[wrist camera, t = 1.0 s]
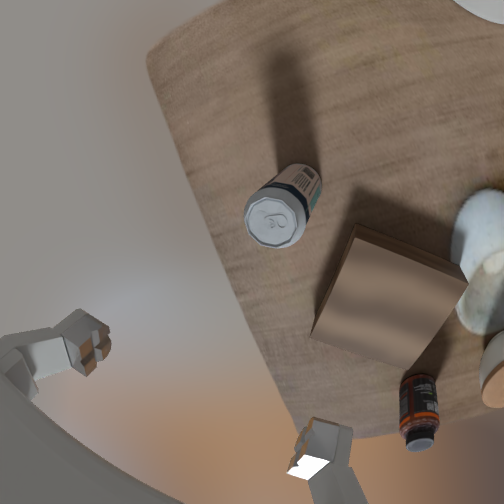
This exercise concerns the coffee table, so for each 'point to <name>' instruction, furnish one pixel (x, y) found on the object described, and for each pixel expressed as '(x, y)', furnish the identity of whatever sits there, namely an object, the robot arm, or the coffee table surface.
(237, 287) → the coffee table surface
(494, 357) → the lidded jar
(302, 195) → the beer can
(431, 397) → the supplement bottle
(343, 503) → the robot arm
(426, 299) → the walnut block
